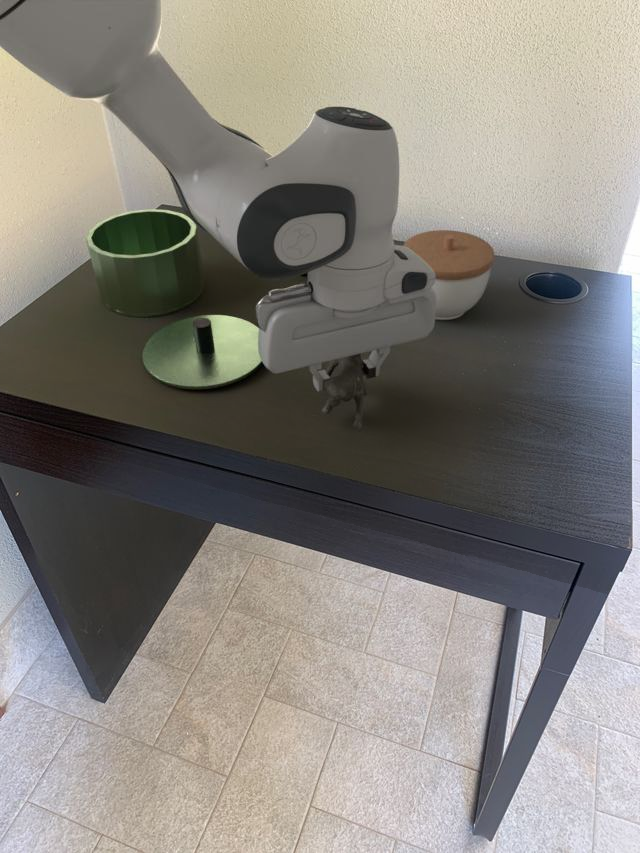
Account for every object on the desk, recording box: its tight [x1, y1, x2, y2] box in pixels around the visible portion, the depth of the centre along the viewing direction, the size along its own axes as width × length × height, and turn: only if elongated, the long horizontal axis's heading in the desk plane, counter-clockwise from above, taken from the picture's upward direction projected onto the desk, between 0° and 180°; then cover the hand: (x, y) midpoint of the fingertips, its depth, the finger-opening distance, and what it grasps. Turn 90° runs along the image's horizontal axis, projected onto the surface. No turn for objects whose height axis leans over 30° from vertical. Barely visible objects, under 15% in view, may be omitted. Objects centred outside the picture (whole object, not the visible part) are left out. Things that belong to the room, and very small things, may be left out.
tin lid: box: [142, 314, 263, 390], centre depth 90 cm, size 17×17×5 cm
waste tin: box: [85, 208, 205, 318], centre depth 102 cm, size 16×16×10 cm
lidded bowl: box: [402, 229, 495, 321], centre depth 97 cm, size 13×13×11 cm
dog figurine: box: [321, 353, 368, 429], centre depth 79 cm, size 12×6×7 cm, turn 175°
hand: (346, 381), depth 80 cm, fingers closed on dog figurine, 5 cm apart
